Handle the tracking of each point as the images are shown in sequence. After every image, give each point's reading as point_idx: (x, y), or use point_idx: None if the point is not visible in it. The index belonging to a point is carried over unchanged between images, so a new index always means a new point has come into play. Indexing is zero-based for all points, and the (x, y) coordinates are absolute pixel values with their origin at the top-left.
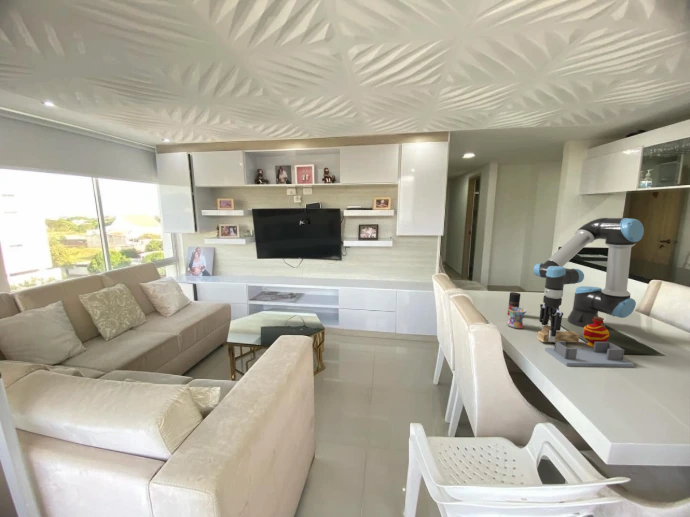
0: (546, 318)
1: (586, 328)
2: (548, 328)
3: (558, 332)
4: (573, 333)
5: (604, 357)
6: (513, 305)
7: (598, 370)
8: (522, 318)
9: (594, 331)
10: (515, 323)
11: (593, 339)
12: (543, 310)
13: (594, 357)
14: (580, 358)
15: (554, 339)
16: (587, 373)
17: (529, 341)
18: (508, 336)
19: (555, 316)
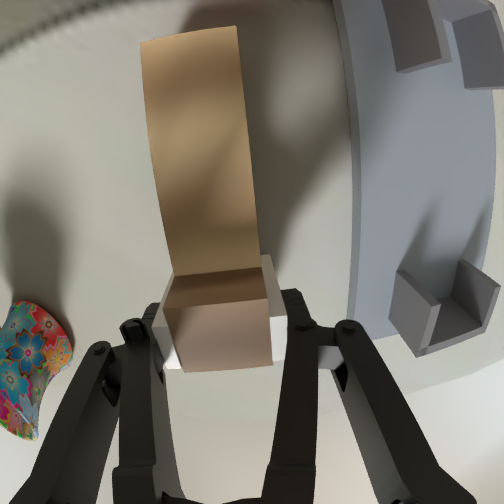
0: (166, 424)
1: None
2: (245, 356)
3: (191, 205)
4: (202, 60)
5: (453, 79)
6: None
7: (499, 197)
8: (18, 354)
9: None
10: (57, 368)
11: None
12: (85, 488)
13: (458, 137)
14: (463, 228)
15: (271, 263)
16: (501, 258)
17: None
18: (193, 413)
19: (380, 499)
